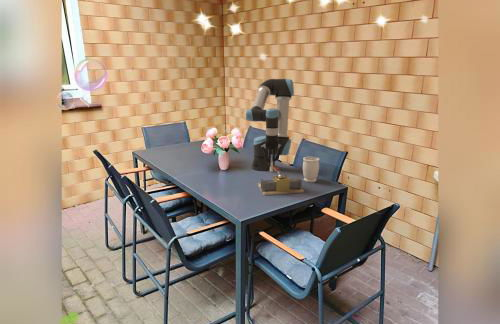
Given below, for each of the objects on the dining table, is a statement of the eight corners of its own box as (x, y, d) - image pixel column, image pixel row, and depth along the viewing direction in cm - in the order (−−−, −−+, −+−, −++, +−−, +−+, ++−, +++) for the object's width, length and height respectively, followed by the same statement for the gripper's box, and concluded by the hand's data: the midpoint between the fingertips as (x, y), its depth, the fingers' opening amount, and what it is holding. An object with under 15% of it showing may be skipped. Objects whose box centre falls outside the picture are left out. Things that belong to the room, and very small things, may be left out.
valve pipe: (260, 189, 216) (260, 176, 214) (297, 186, 221) (298, 174, 218) (263, 194, 209) (263, 181, 207) (301, 191, 213) (302, 178, 211)
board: (257, 184, 225) (257, 182, 225) (295, 182, 229) (295, 180, 229) (263, 195, 208) (263, 193, 208) (304, 192, 212) (304, 190, 212)
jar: (306, 183, 227) (307, 161, 223) (299, 178, 236) (300, 157, 232) (321, 182, 230) (322, 160, 225) (314, 177, 239) (315, 155, 235)
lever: (285, 178, 211) (285, 174, 210) (279, 178, 210) (279, 174, 210) (277, 169, 228) (277, 165, 227) (272, 169, 227) (272, 165, 226)
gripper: (262, 136, 210) (261, 173, 216) (283, 135, 211) (282, 172, 218) (260, 133, 217) (260, 169, 223) (281, 132, 218) (280, 169, 225)
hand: (271, 171), depth 221 cm, fingers closed
